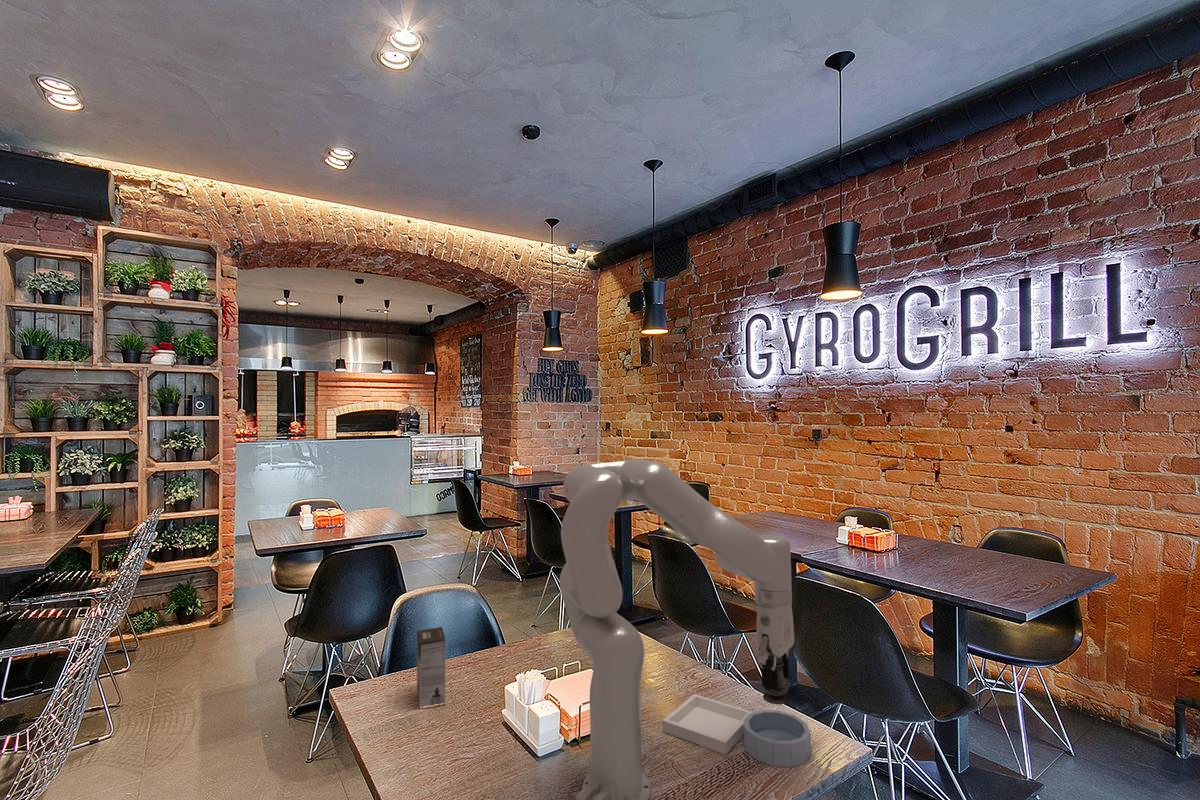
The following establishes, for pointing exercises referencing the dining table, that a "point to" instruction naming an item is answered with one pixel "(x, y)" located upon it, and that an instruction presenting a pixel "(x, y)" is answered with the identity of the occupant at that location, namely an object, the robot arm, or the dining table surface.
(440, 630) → the coffee box
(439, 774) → the dining table surface
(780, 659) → the dark brown turned figure
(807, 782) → the dining table surface
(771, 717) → the bowl
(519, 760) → the dining table surface
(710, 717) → the parts tray
